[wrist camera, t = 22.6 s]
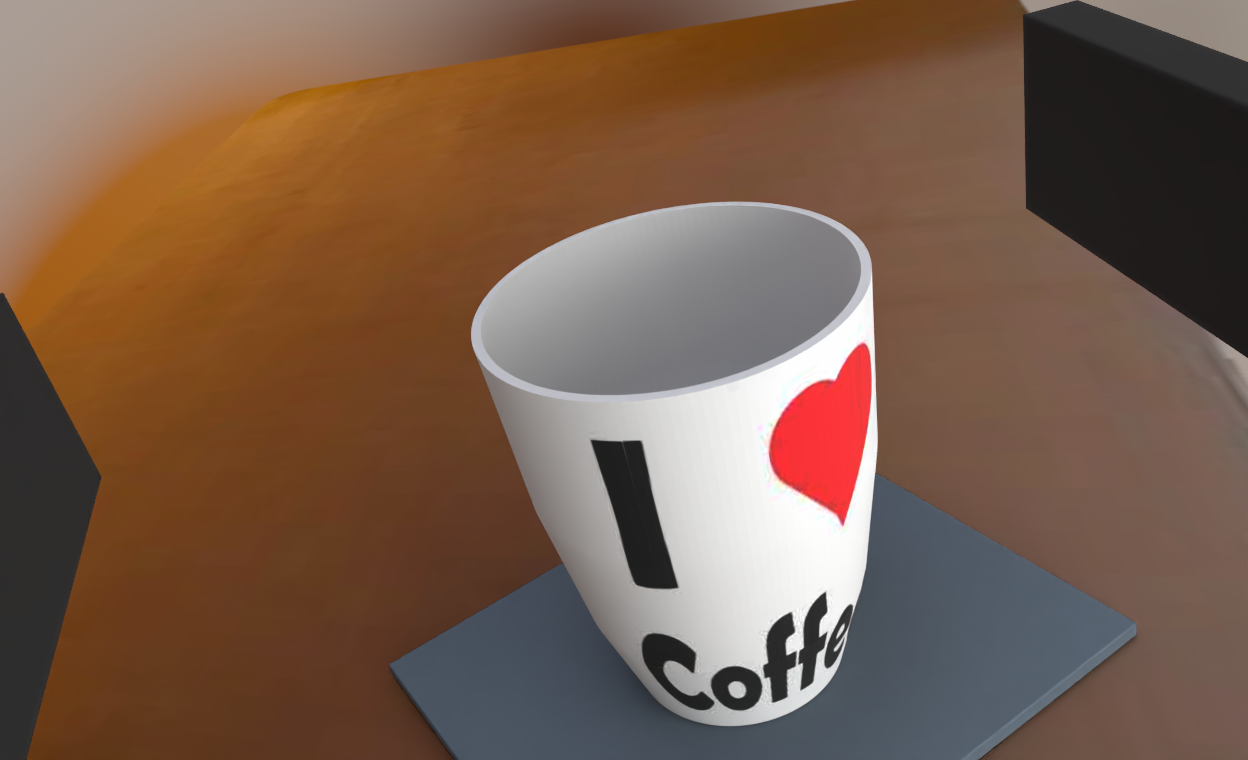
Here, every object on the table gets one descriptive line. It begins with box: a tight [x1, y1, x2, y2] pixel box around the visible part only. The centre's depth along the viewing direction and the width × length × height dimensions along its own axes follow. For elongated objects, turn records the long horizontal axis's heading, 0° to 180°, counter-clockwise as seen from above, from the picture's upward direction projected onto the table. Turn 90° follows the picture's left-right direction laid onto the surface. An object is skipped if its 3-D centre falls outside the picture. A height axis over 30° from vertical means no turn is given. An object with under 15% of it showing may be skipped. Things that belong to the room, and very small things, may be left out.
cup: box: [471, 202, 878, 726], centre depth 26 cm, size 8×8×10 cm
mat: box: [389, 473, 1137, 760], centre depth 29 cm, size 14×12×1 cm
